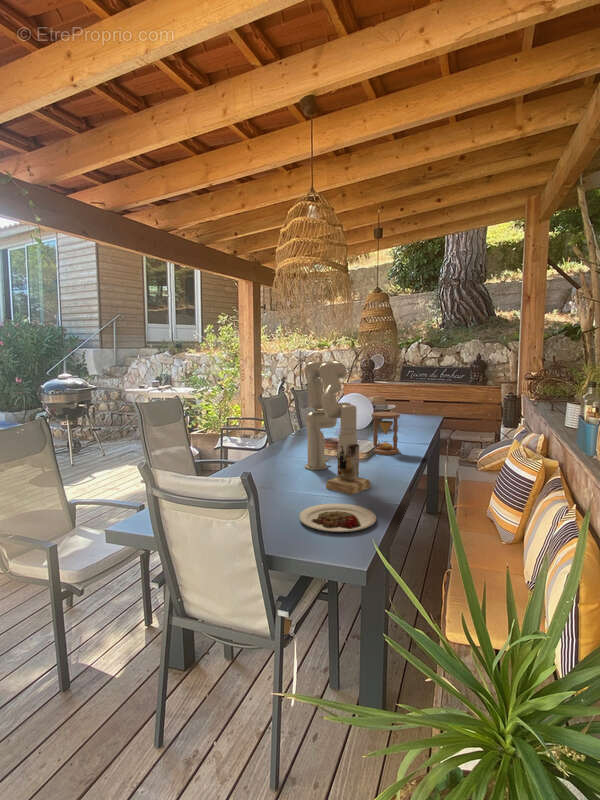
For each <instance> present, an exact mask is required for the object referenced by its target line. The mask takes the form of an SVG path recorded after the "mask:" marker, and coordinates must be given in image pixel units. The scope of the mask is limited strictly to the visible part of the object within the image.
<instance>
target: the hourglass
mask: <svg viewBox="0 0 600 800" xmlns="http://www.w3.org/2000/svg"><path fill="white" fill-rule="evenodd" d="M371 418H373V424H372V425H373V426H372V427H373V428H372V429H373V432H374V433H373V435H372V436H373V437H372V438H373V439H372V440H373V447H374V446H376V447H377V446H379V447H377V448H376V449H375V450H374V453H375V454H374V453H373V454H374V455H381V456H393V455H398V454H399V453H400V449H399V448H398V440H399V438H398V434H397V433H398V430H399V425H398V419H399V418H400V413H398V412H394V411H393V412H392V411H377V412H376V411H375V412H372V413H371ZM378 419H379V420H378ZM391 420H393V421H391ZM392 425H393V426H392ZM379 426H380V428H381V429H382V430H383V432H384V435H387V433H388V431H389V430H390V428H391V427H392V430H393V437H392V442H393V443H392V444H391V443H388V442H387V441H384V442H381V443H379V444H378V439H379V436H378V428H379Z"/></svg>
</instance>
